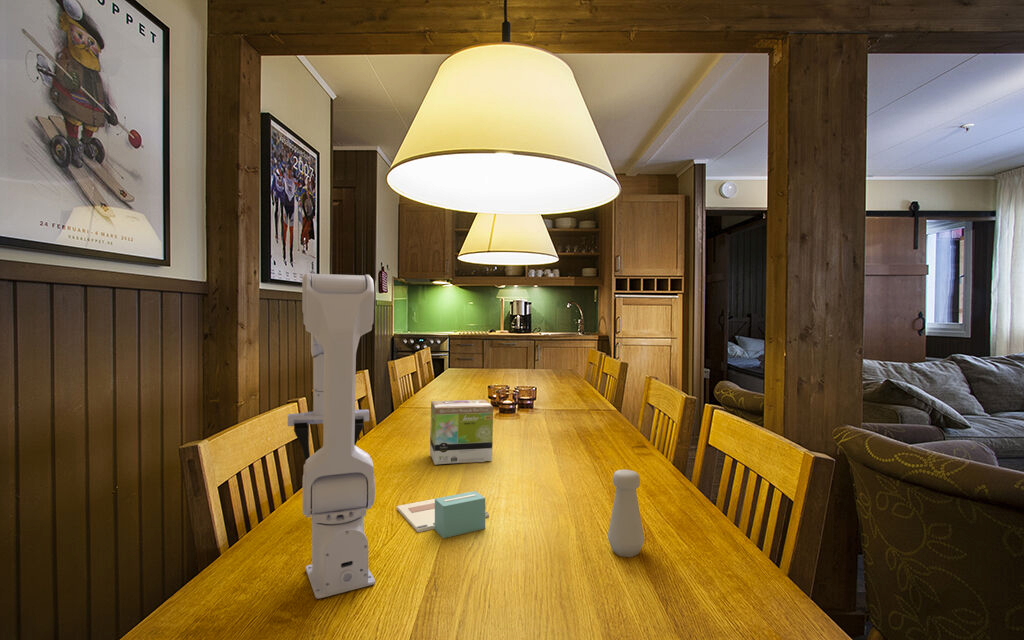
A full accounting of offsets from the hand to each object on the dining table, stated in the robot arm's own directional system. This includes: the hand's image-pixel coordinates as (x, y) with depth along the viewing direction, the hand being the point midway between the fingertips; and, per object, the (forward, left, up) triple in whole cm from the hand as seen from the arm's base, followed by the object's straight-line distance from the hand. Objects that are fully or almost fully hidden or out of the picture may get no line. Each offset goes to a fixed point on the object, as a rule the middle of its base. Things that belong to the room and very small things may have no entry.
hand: (329, 460), depth 98 cm
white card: (-11, -19, -10) cm, 24 cm away
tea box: (+20, -37, -10) cm, 43 cm away
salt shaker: (-40, -39, -10) cm, 56 cm away
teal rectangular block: (-19, -19, -10) cm, 28 cm away
